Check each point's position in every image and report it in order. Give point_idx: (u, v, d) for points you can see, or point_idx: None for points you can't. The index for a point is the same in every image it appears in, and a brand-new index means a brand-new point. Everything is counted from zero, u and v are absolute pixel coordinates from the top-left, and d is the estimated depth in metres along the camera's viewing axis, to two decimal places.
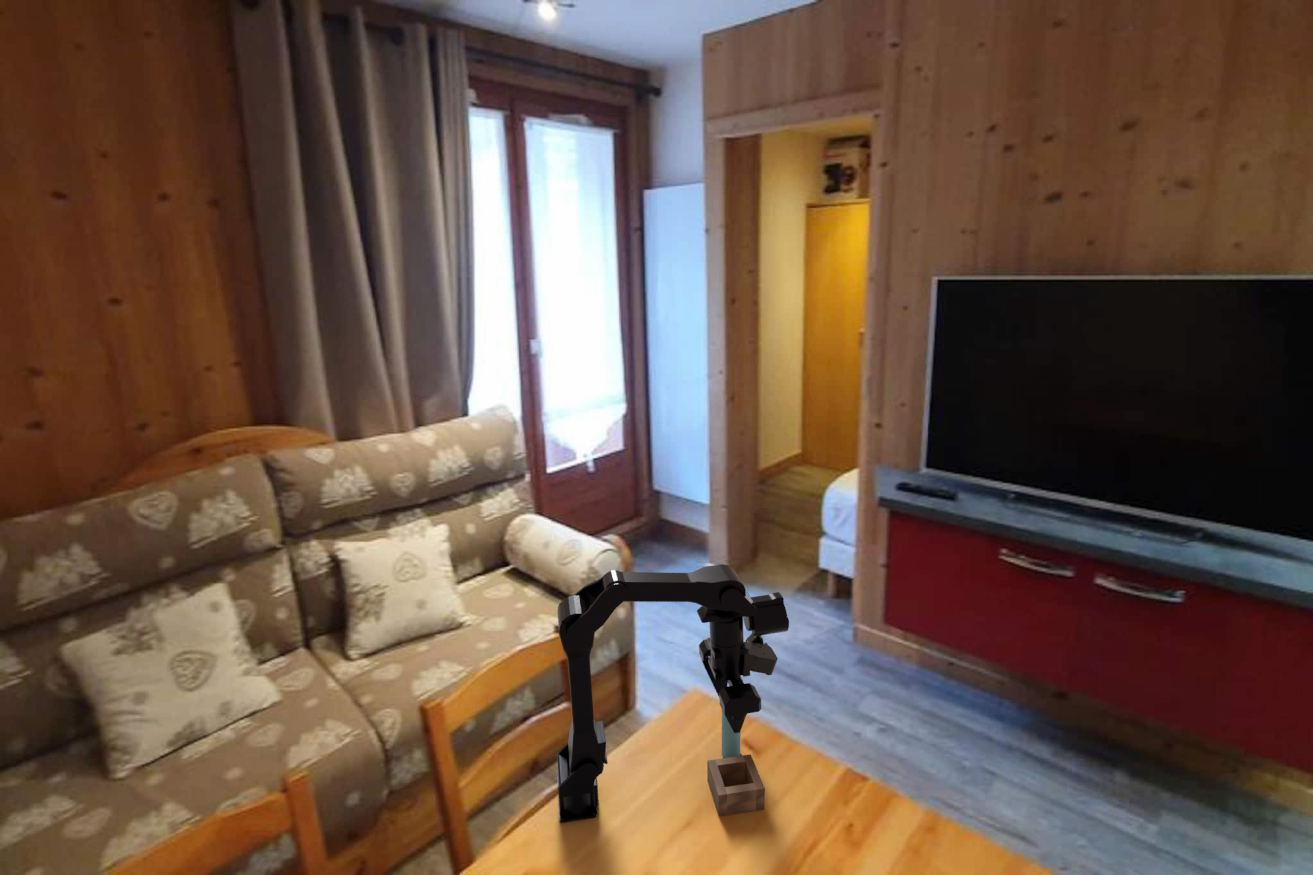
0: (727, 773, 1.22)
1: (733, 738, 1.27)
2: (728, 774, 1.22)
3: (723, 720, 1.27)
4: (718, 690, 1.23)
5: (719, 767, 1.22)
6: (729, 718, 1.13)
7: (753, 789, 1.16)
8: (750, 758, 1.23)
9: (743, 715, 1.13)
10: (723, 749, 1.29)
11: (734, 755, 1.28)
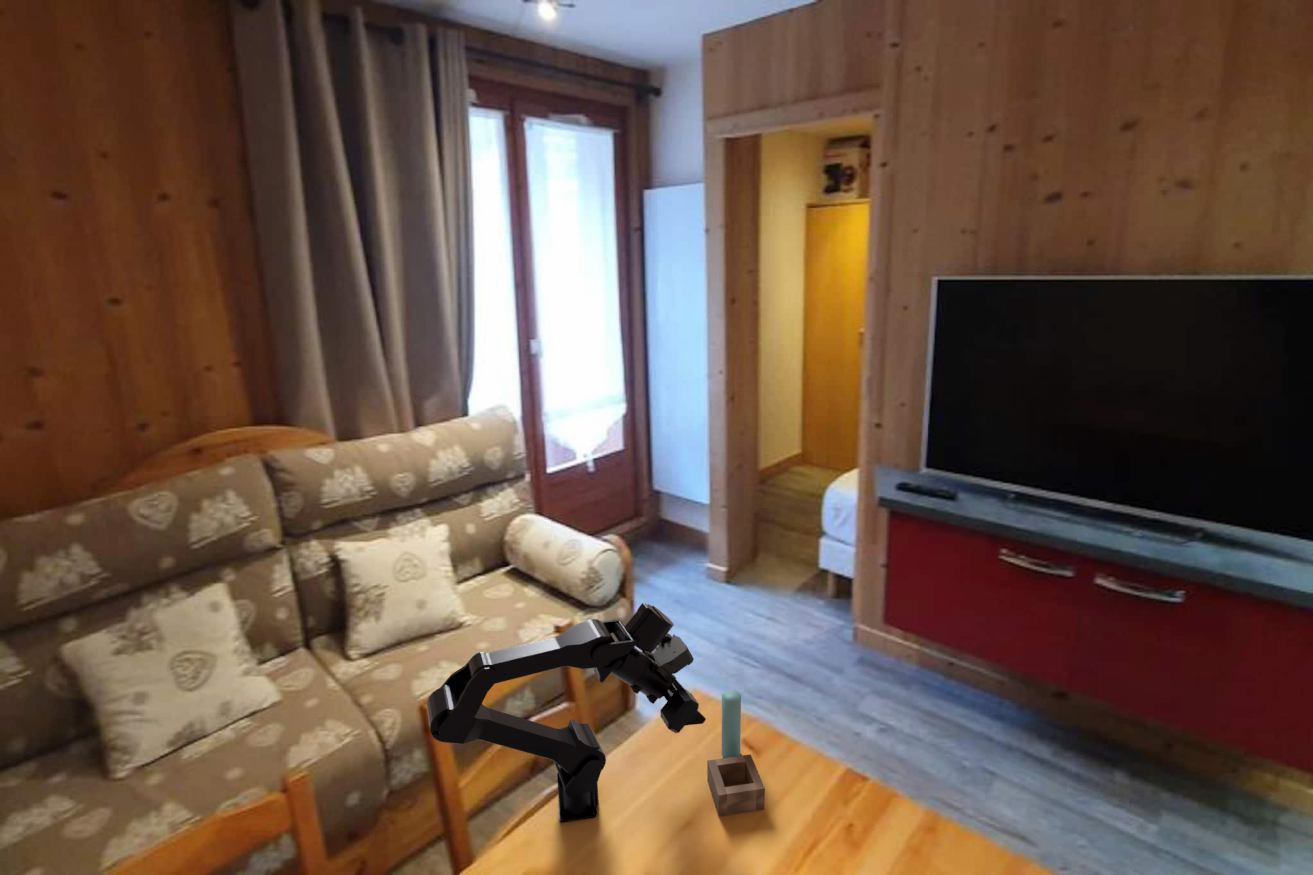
0: (727, 773, 1.22)
1: (733, 738, 1.27)
2: (728, 774, 1.22)
3: (723, 720, 1.27)
4: None
5: (719, 767, 1.22)
6: (686, 723, 1.16)
7: (753, 789, 1.16)
8: (750, 758, 1.23)
9: (694, 712, 1.17)
10: (723, 749, 1.29)
11: (734, 755, 1.28)
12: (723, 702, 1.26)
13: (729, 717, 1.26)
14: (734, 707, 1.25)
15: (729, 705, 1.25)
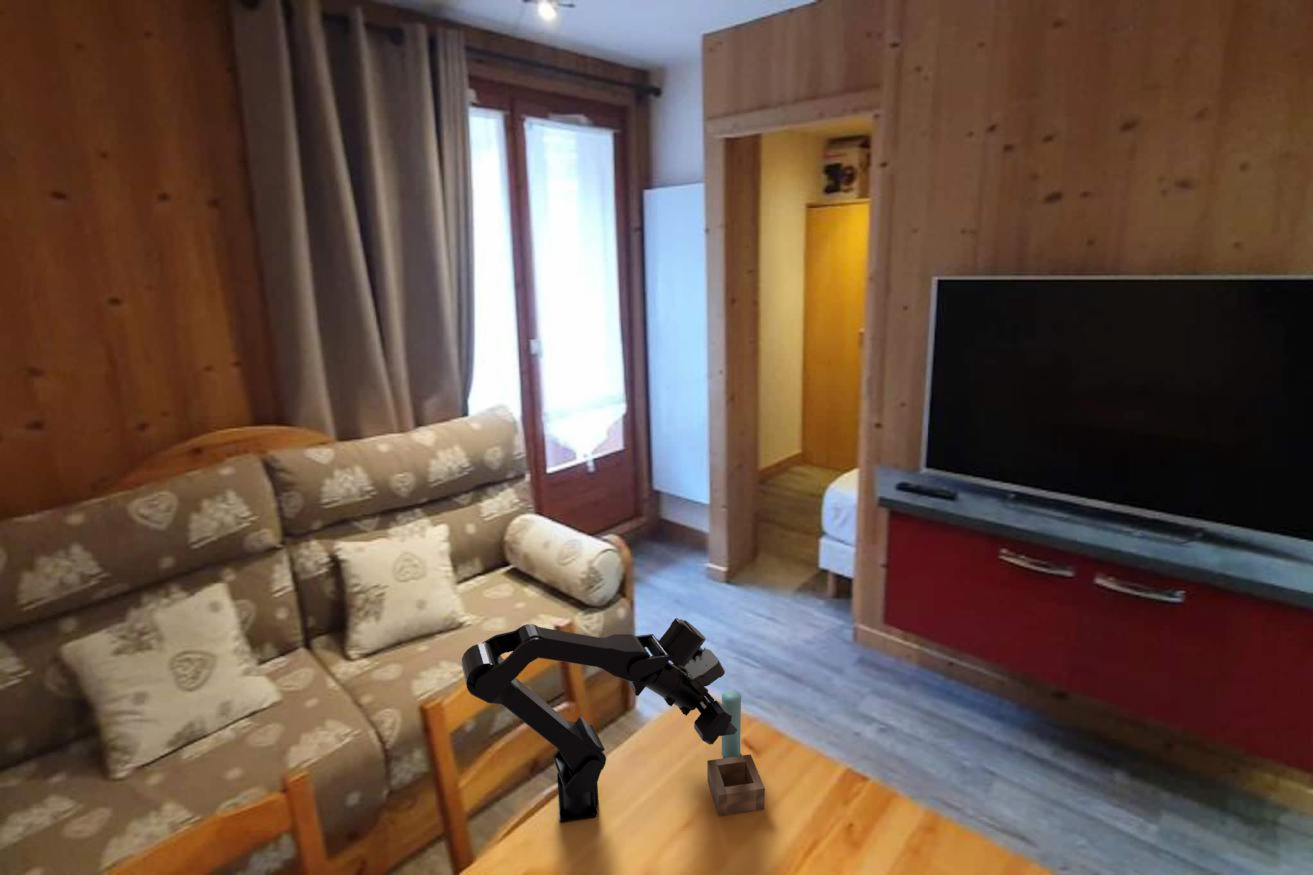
0: (727, 773, 1.22)
1: (733, 738, 1.27)
2: (728, 774, 1.22)
3: None
4: None
5: (719, 767, 1.22)
6: None
7: (753, 789, 1.16)
8: (750, 758, 1.23)
9: None
10: (723, 749, 1.29)
11: (734, 755, 1.28)
12: (723, 702, 1.26)
13: None
14: (734, 707, 1.25)
15: (729, 705, 1.25)
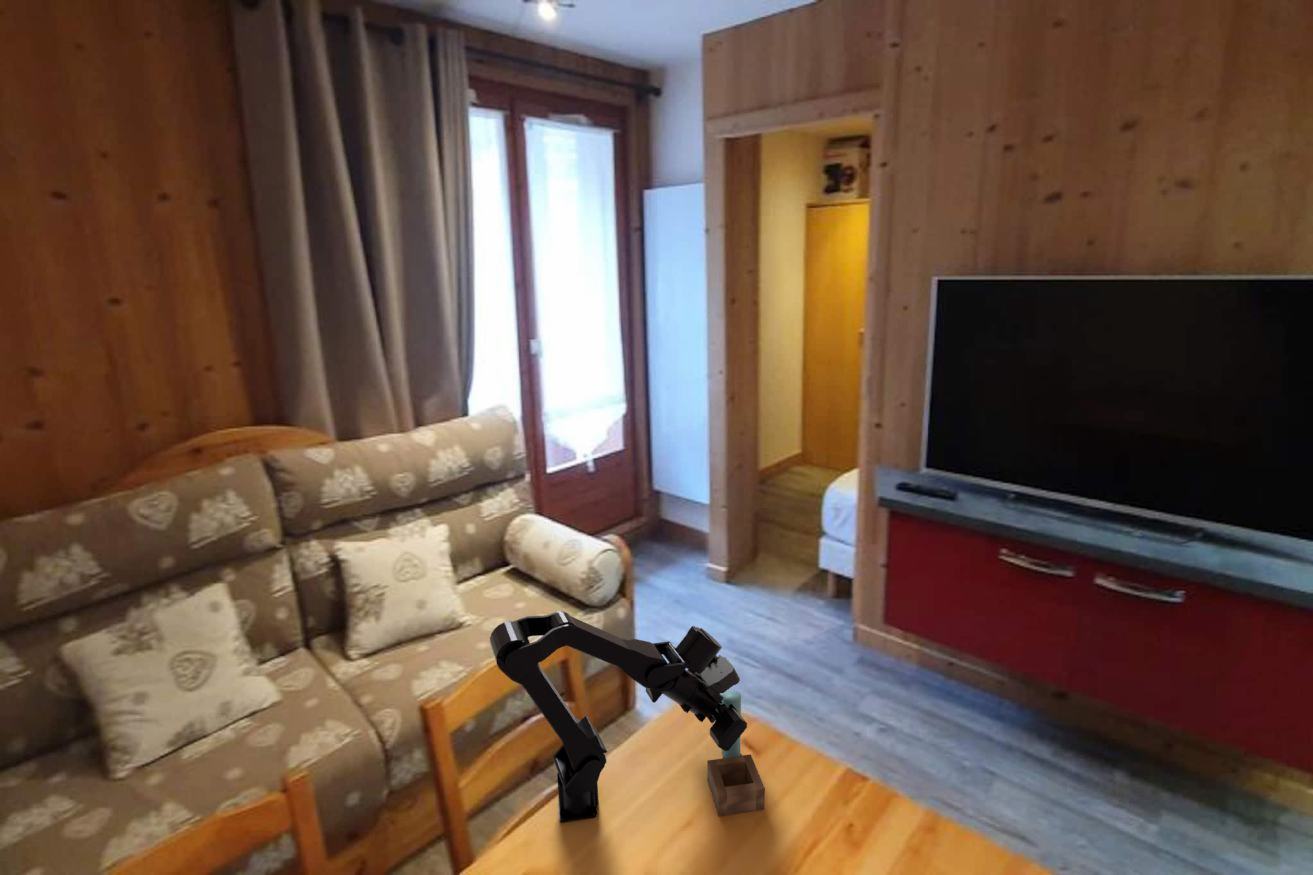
0: (727, 773, 1.22)
1: None
2: (728, 774, 1.22)
3: None
4: None
5: (719, 767, 1.22)
6: None
7: (753, 789, 1.16)
8: (750, 758, 1.23)
9: None
10: None
11: (734, 755, 1.28)
12: (723, 702, 1.26)
13: None
14: None
15: (728, 705, 1.25)
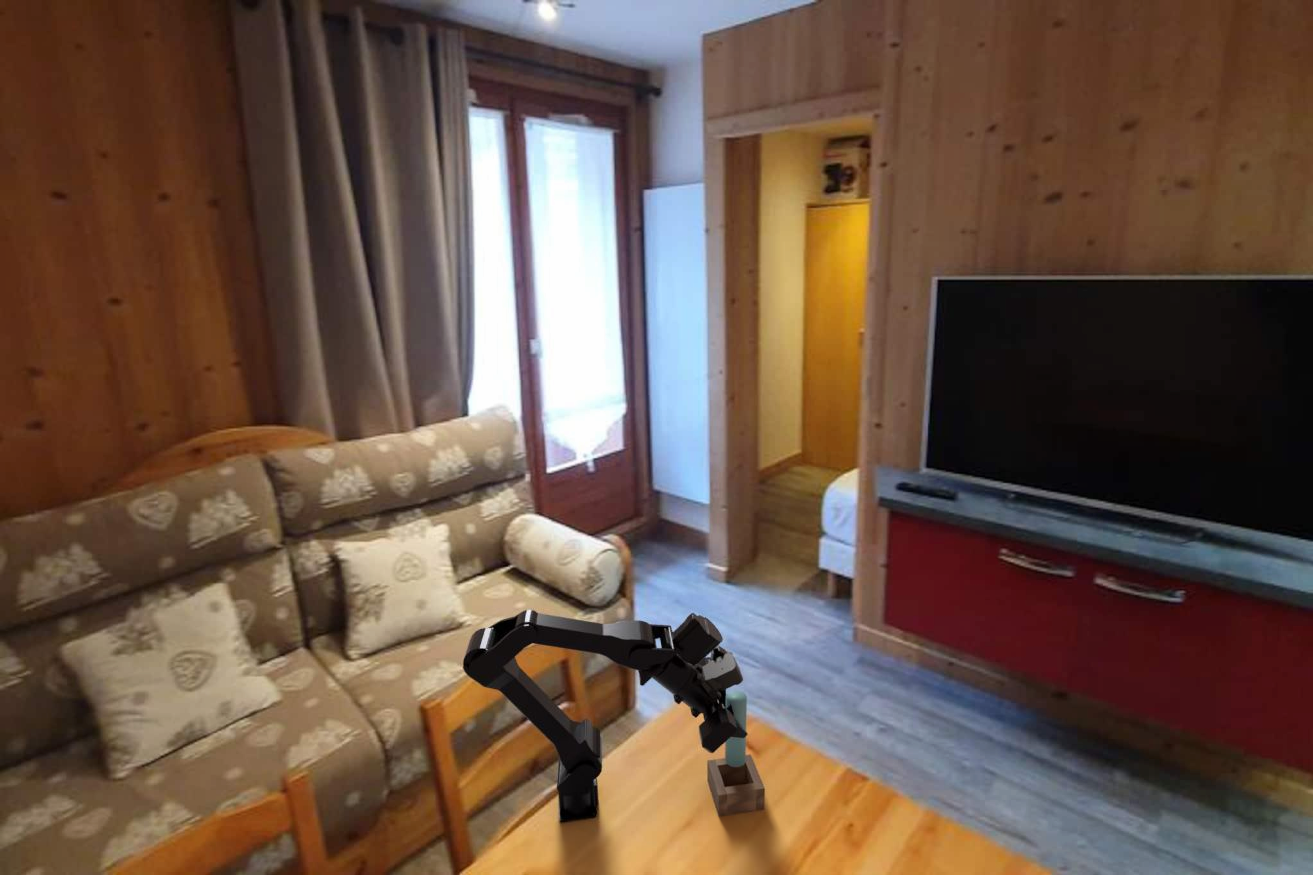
0: (727, 773, 1.22)
1: (735, 743, 1.16)
2: (728, 774, 1.22)
3: None
4: None
5: (719, 767, 1.22)
6: None
7: (753, 789, 1.16)
8: (750, 758, 1.23)
9: None
10: (725, 753, 1.19)
11: (736, 762, 1.17)
12: (726, 702, 1.16)
13: None
14: (736, 709, 1.15)
15: None
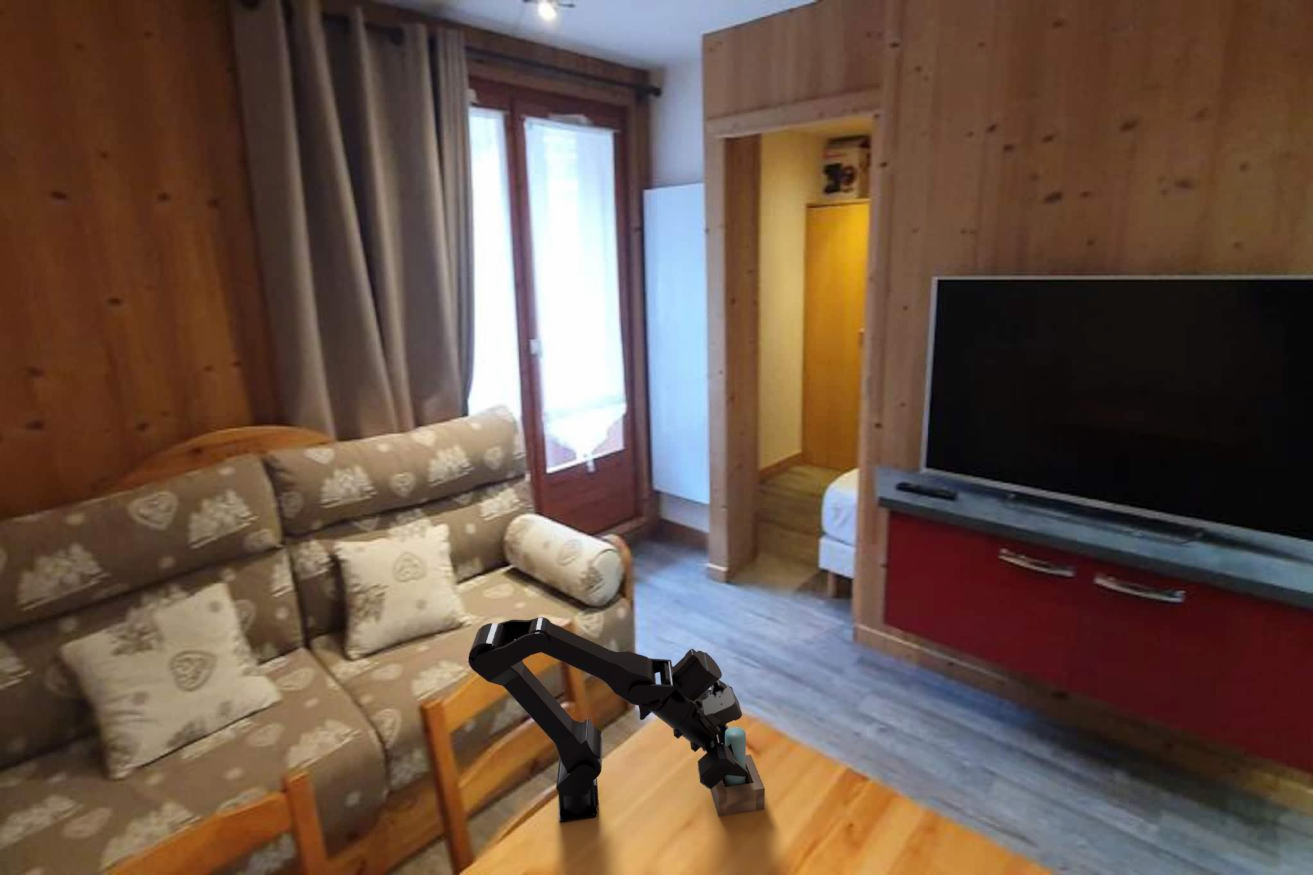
0: None
1: (734, 779, 1.17)
2: None
3: None
4: None
5: None
6: None
7: (753, 789, 1.16)
8: (750, 758, 1.23)
9: None
10: None
11: None
12: (725, 738, 1.17)
13: None
14: (735, 747, 1.16)
15: (729, 743, 1.16)
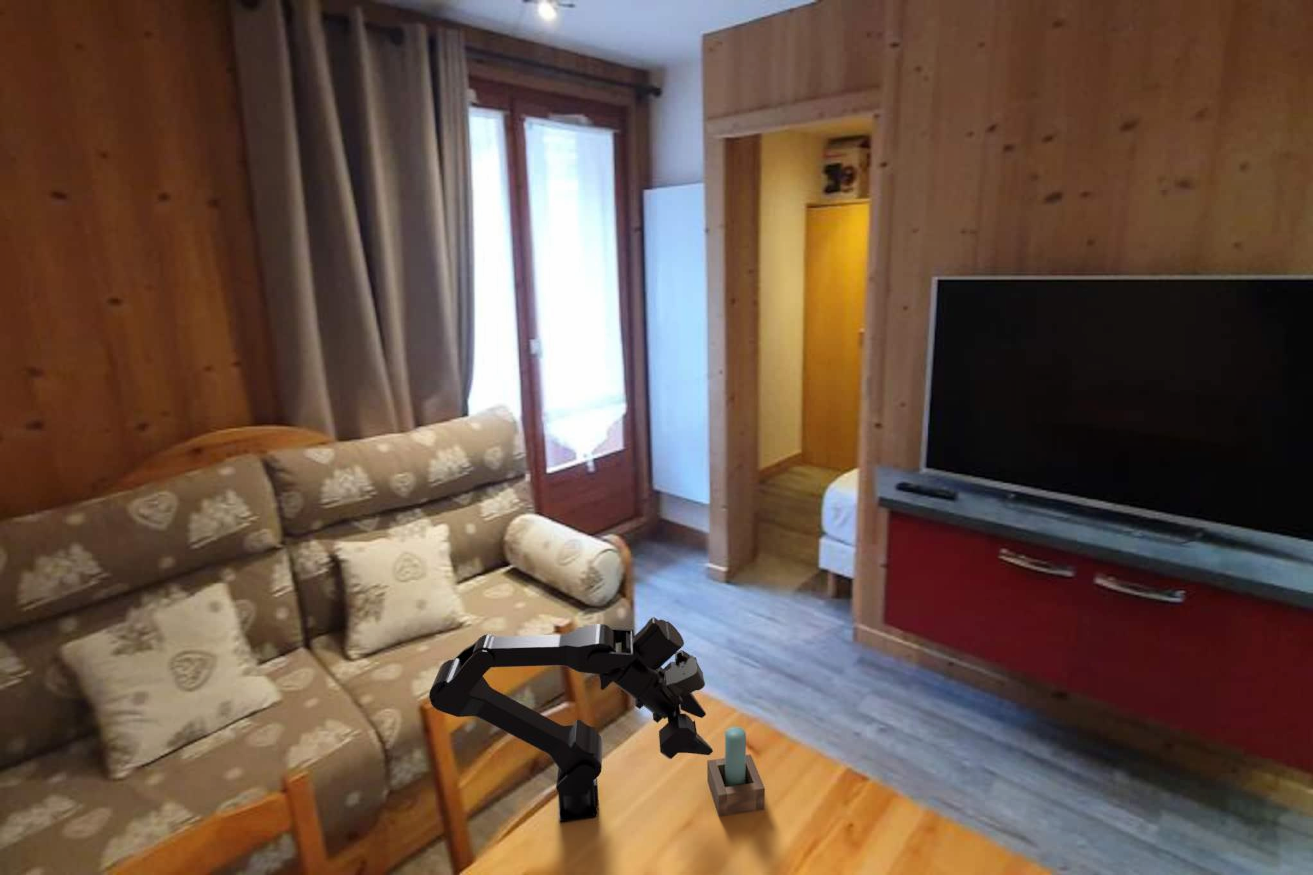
0: None
1: (734, 779, 1.17)
2: None
3: (725, 757, 1.18)
4: (693, 712, 1.21)
5: (719, 767, 1.22)
6: (687, 751, 1.10)
7: (753, 789, 1.16)
8: (750, 758, 1.23)
9: (697, 741, 1.10)
10: None
11: None
12: (725, 738, 1.17)
13: (730, 756, 1.16)
14: (735, 747, 1.16)
15: (729, 743, 1.16)
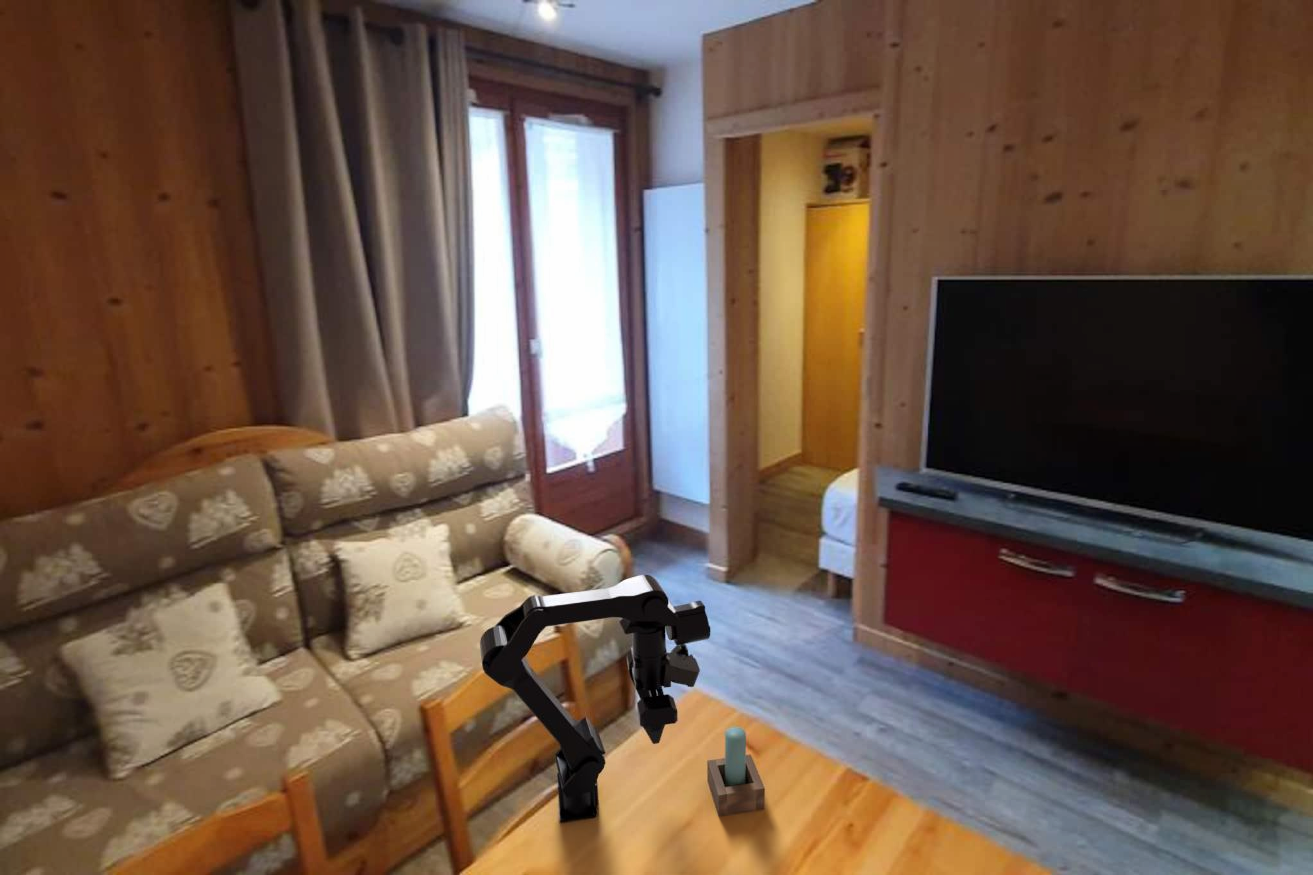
0: None
1: (734, 779, 1.17)
2: None
3: (725, 757, 1.18)
4: None
5: (719, 767, 1.22)
6: (647, 729, 1.12)
7: (753, 789, 1.16)
8: (750, 758, 1.23)
9: (661, 726, 1.13)
10: None
11: None
12: (725, 738, 1.17)
13: (730, 756, 1.16)
14: (735, 747, 1.16)
15: (729, 743, 1.16)
